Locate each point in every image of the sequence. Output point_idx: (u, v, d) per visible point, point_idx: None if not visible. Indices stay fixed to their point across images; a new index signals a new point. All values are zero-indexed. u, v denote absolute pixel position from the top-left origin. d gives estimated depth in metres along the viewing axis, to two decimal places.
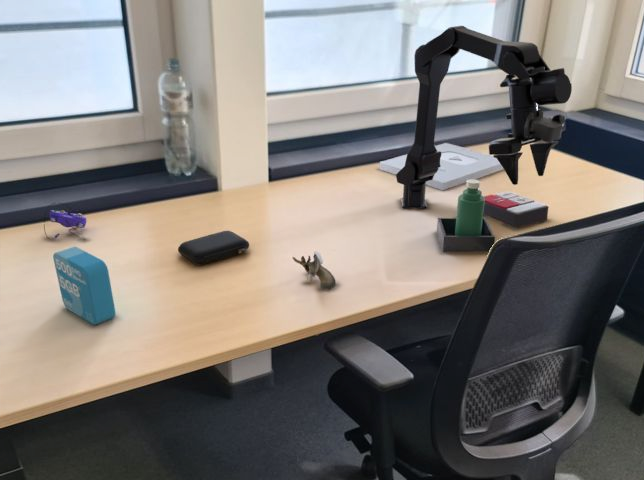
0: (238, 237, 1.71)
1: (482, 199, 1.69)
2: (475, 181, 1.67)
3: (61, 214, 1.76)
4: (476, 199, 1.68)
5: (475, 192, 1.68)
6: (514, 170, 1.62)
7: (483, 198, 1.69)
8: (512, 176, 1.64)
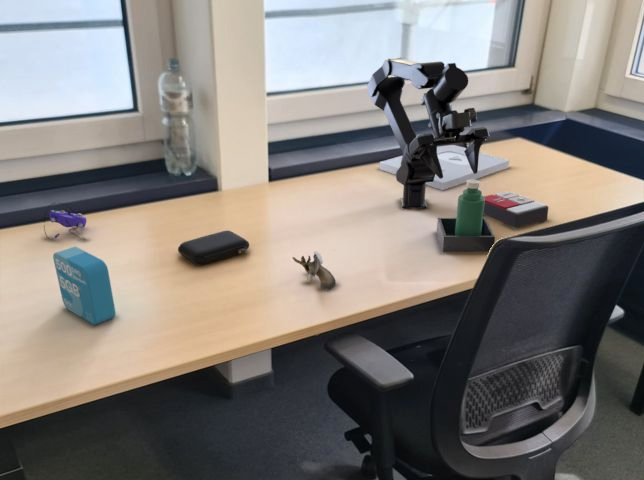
0: (238, 237, 1.71)
1: (482, 199, 1.69)
2: (475, 181, 1.67)
3: (61, 214, 1.76)
4: (476, 199, 1.68)
5: (475, 192, 1.68)
6: (435, 163, 1.72)
7: (483, 198, 1.69)
8: (436, 170, 1.73)
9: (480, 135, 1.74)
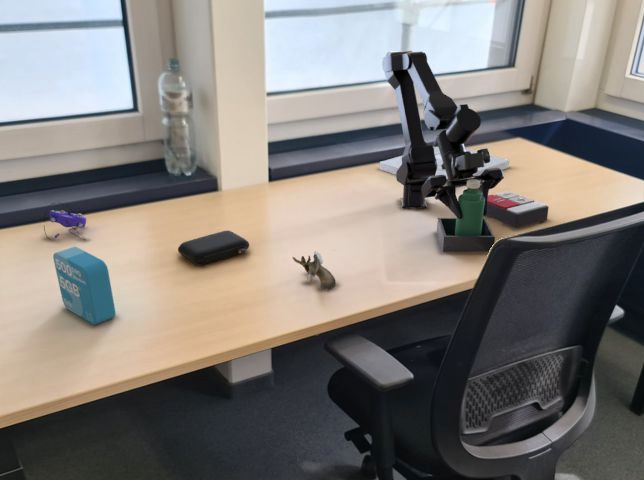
0: (238, 237, 1.71)
1: (482, 199, 1.69)
2: (475, 181, 1.67)
3: (61, 214, 1.76)
4: (476, 199, 1.68)
5: (475, 192, 1.68)
6: (454, 204, 1.69)
7: (483, 198, 1.69)
8: (455, 211, 1.70)
9: (494, 176, 1.71)
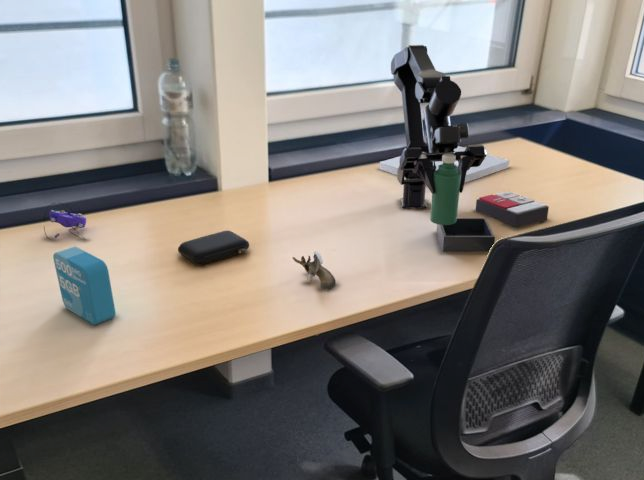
0: (238, 237, 1.71)
1: (457, 175, 1.64)
2: (450, 156, 1.63)
3: (61, 214, 1.76)
4: (450, 174, 1.64)
5: (450, 167, 1.64)
6: (428, 178, 1.66)
7: (459, 174, 1.65)
8: (429, 185, 1.67)
9: (475, 152, 1.66)
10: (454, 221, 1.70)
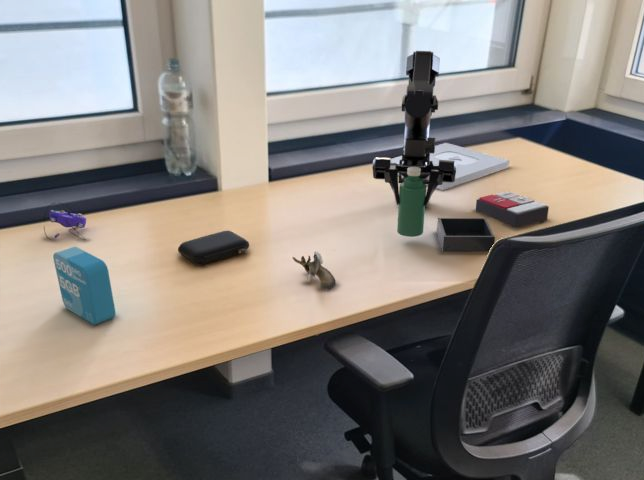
0: (238, 237, 1.71)
1: (420, 188, 1.66)
2: (415, 169, 1.65)
3: (61, 214, 1.76)
4: (412, 187, 1.66)
5: (413, 180, 1.66)
6: (393, 188, 1.69)
7: (423, 188, 1.67)
8: None
9: (443, 168, 1.67)
10: (418, 233, 1.72)
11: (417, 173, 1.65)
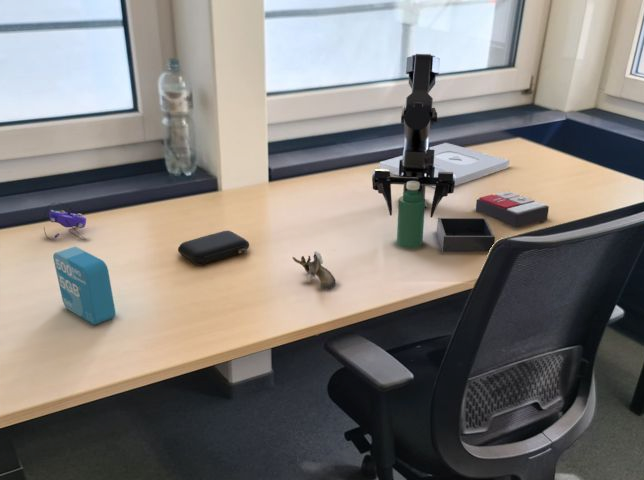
0: (238, 237, 1.71)
1: (419, 202, 1.68)
2: (414, 183, 1.67)
3: (61, 214, 1.76)
4: (411, 201, 1.68)
5: (412, 194, 1.68)
6: (386, 199, 1.71)
7: (422, 201, 1.68)
8: (388, 206, 1.71)
9: (442, 179, 1.68)
10: (417, 246, 1.73)
11: (416, 187, 1.67)
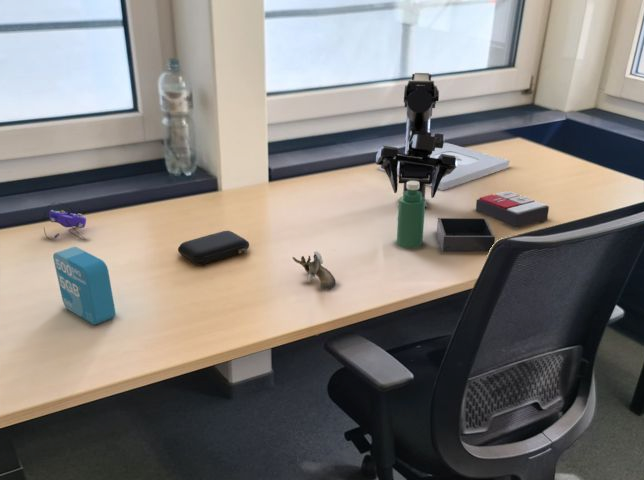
0: (238, 237, 1.71)
1: (419, 202, 1.68)
2: (414, 183, 1.67)
3: (61, 214, 1.76)
4: (411, 201, 1.68)
5: (412, 194, 1.68)
6: (392, 177, 1.77)
7: (422, 201, 1.68)
8: (393, 184, 1.77)
9: (446, 162, 1.77)
10: (417, 246, 1.73)
11: (416, 187, 1.67)
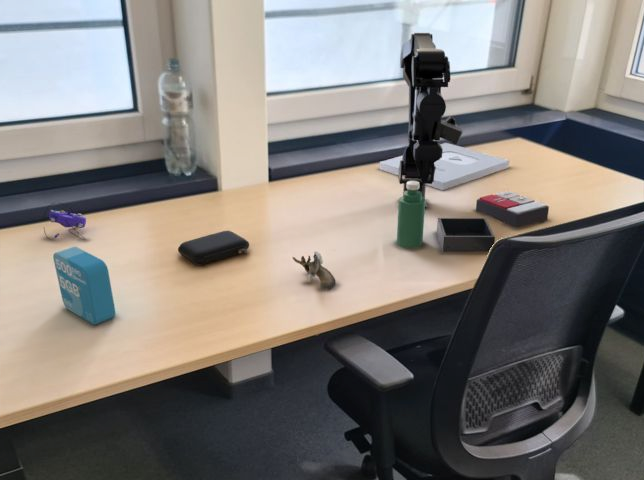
0: (238, 237, 1.71)
1: (419, 202, 1.68)
2: (414, 183, 1.67)
3: (61, 214, 1.76)
4: (411, 201, 1.68)
5: (412, 194, 1.68)
6: (429, 171, 1.73)
7: (422, 201, 1.68)
8: (424, 176, 1.74)
9: None
10: (417, 246, 1.73)
11: (416, 187, 1.67)
